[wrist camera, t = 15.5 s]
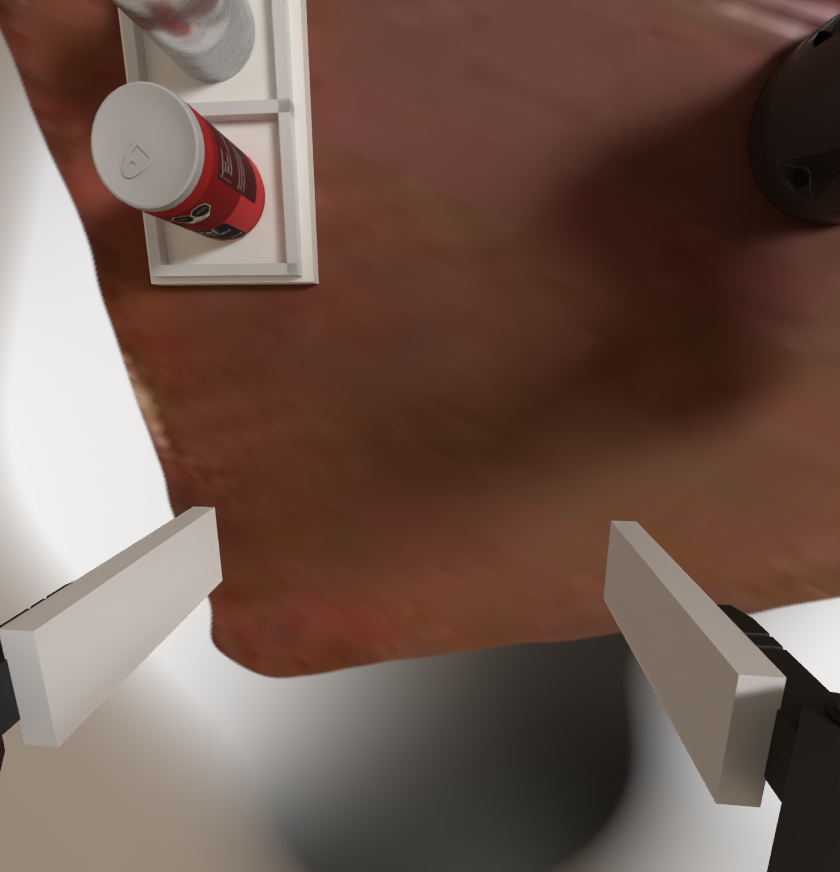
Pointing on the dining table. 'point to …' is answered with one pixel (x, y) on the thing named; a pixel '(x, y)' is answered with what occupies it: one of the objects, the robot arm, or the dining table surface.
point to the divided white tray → (257, 138)
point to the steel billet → (198, 33)
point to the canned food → (174, 163)
